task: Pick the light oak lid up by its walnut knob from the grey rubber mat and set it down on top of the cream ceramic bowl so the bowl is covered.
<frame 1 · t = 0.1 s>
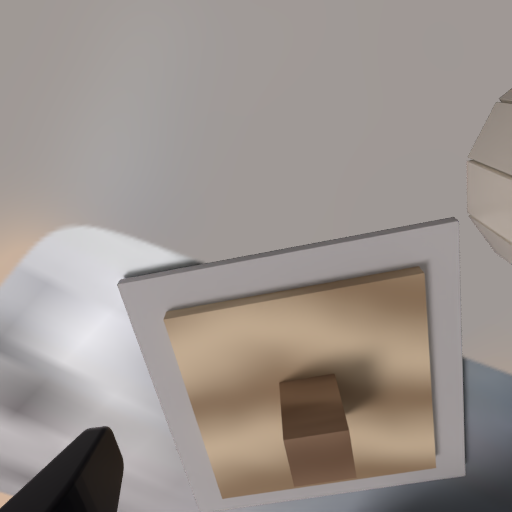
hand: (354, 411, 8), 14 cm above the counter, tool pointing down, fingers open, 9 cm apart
mat: (308, 383, 25), on the counter
lid: (309, 390, 25), point 1 cm above the counter, touching mat
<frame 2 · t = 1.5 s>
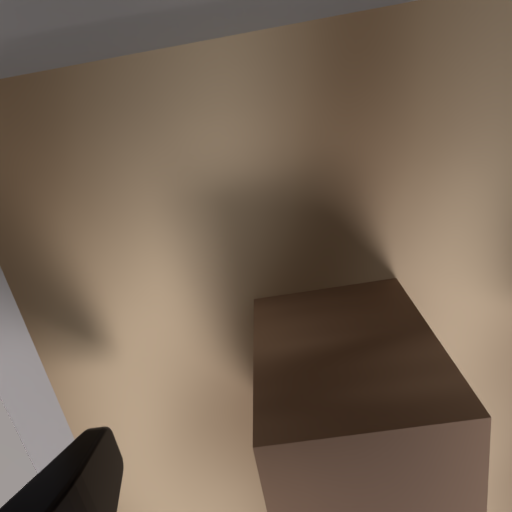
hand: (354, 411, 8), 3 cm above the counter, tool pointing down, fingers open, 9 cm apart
mat: (322, 315, 11), on the counter
lid: (326, 328, 11), point 1 cm above the counter, touching mat
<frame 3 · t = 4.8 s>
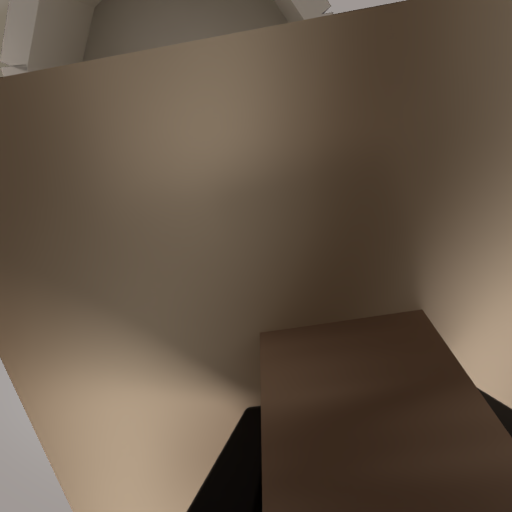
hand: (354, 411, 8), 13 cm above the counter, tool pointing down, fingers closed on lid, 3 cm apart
lid: (340, 361, 9), point 11 cm above the counter, touching gripper
bowl: (195, 82, 18), on the counter
when the fingers open (8 cm above the counter, at t = 6.7 s): lid drops 1 cm, resting on bowl.
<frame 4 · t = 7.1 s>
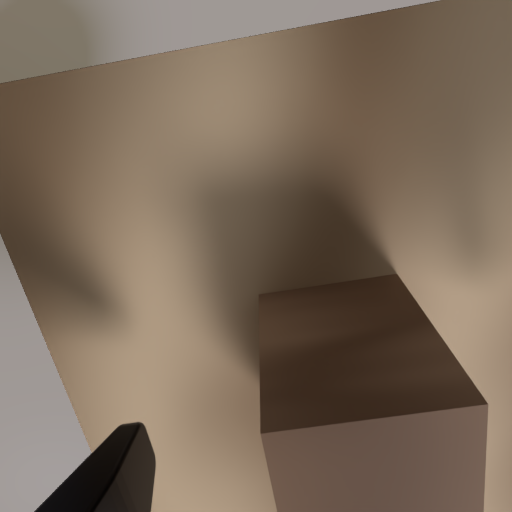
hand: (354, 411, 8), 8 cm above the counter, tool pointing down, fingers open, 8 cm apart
lid: (328, 323, 11), point 5 cm above the counter, touching bowl
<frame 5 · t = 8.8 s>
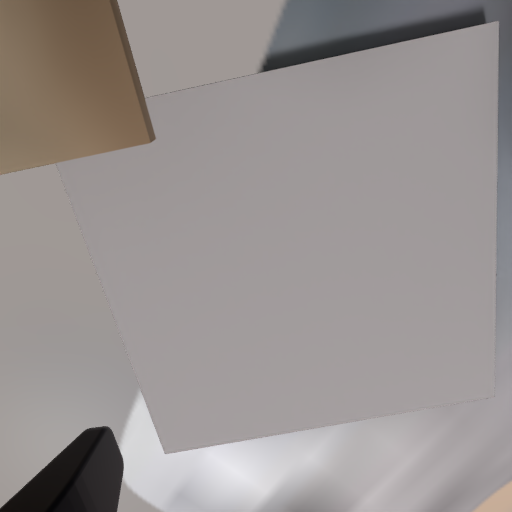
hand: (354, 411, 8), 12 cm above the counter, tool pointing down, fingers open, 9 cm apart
mat: (298, 273, 20), on the counter
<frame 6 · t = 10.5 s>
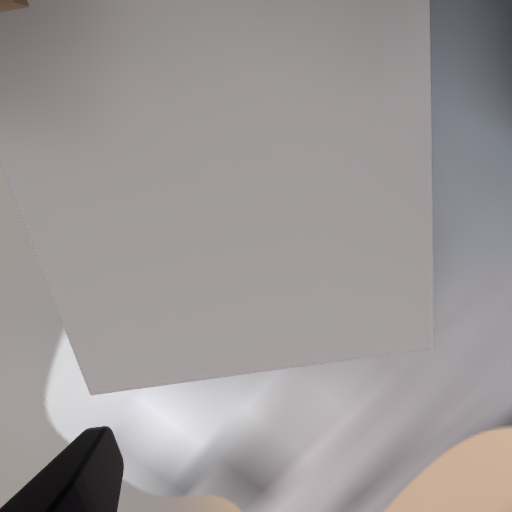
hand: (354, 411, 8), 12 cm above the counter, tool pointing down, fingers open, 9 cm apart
mat: (225, 202, 19), on the counter
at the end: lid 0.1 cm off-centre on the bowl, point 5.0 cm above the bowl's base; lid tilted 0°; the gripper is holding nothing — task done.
